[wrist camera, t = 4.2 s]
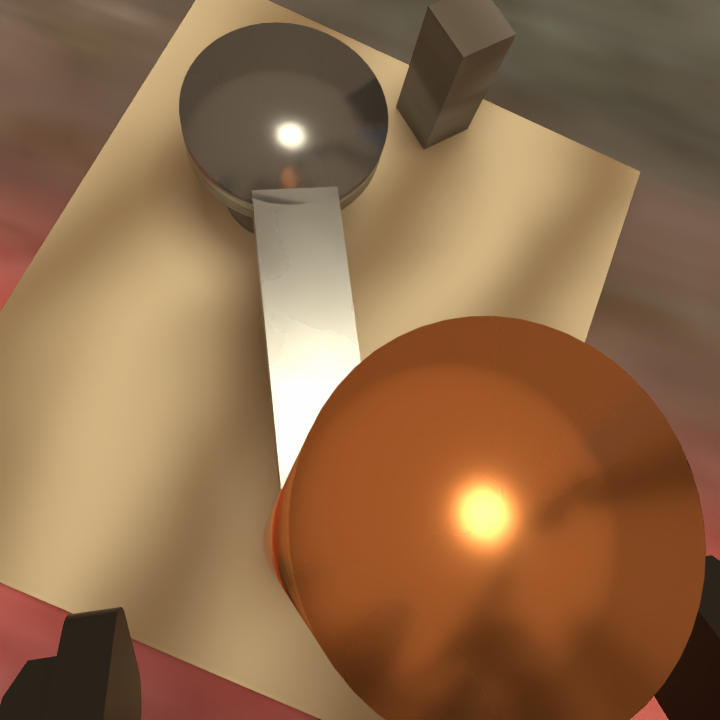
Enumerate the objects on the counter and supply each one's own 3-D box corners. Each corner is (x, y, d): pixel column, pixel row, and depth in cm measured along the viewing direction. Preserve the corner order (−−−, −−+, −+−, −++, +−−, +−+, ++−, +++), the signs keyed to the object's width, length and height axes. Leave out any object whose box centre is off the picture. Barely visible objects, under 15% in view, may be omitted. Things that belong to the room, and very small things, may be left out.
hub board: (632, 179, 27) (725, 89, 22) (439, 765, 20) (504, 844, 15) (212, -14, 26) (202, -156, 21) (-123, 525, 20) (-262, 518, 15)
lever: (185, 108, 24) (62, -679, 8) (355, 104, 25) (516, -602, 10) (224, 612, 20) (116, 846, 4) (424, 583, 21) (895, 688, 5)
